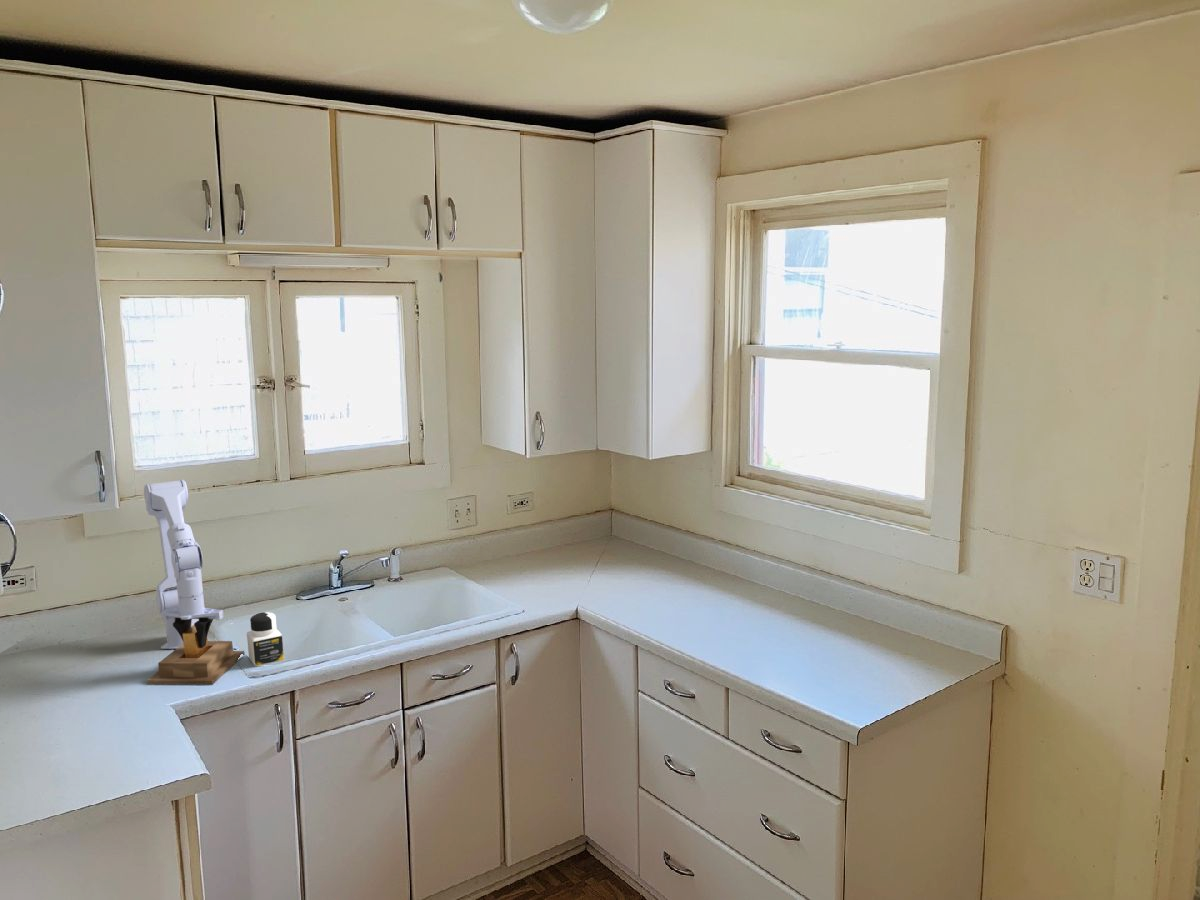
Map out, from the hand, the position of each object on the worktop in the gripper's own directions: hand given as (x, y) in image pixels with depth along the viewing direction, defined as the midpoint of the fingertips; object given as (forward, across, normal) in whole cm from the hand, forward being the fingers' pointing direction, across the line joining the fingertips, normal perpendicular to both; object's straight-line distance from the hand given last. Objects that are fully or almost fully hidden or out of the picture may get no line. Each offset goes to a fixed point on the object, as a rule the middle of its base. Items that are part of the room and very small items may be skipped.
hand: (195, 646), depth 227 cm
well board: (+6, 0, 0) cm, 6 cm away
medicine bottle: (+6, +15, +6) cm, 17 cm away
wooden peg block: (+3, 0, 0) cm, 4 cm away
